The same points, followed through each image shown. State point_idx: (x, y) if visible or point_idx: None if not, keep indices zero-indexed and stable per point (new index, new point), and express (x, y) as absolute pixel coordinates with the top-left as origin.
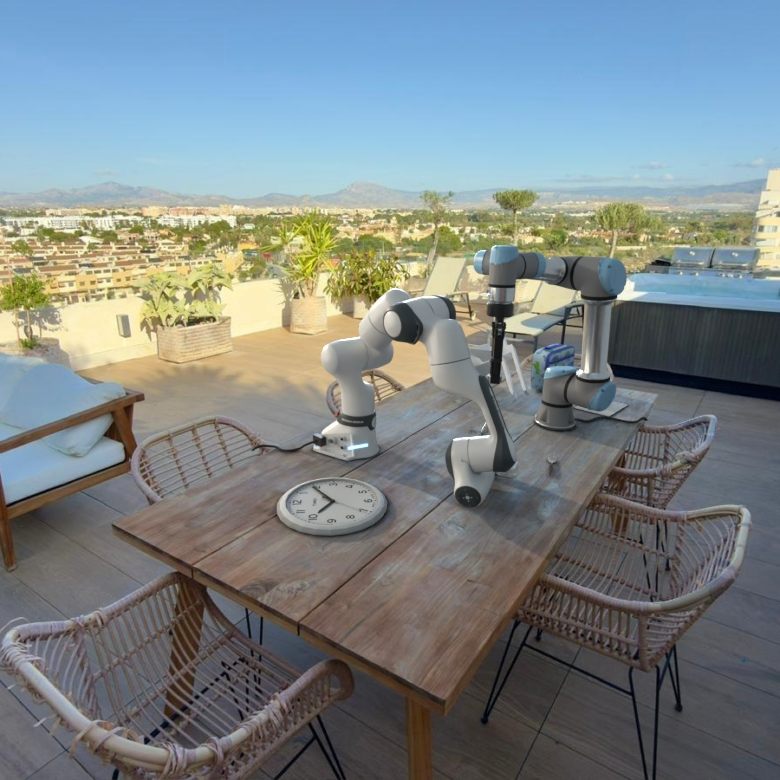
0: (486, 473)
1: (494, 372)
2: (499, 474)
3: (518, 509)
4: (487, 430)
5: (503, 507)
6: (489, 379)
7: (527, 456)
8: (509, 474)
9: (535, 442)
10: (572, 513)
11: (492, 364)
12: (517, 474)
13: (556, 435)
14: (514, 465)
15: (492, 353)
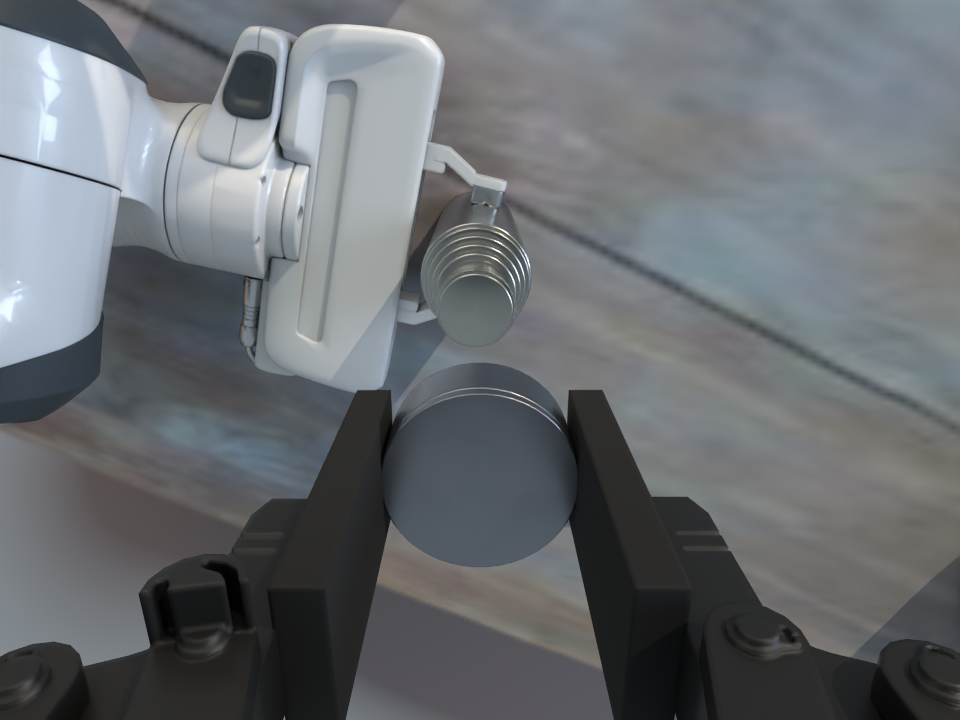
0: (120, 233)
1: (261, 523)
2: (243, 294)
3: (179, 341)
4: (430, 264)
5: (175, 287)
6: (413, 397)
7: (675, 419)
8: (257, 339)
9: (836, 467)
10: (213, 512)
11: (286, 569)
12: (277, 373)
13: (917, 559)
14: (307, 371)
15: (711, 693)
